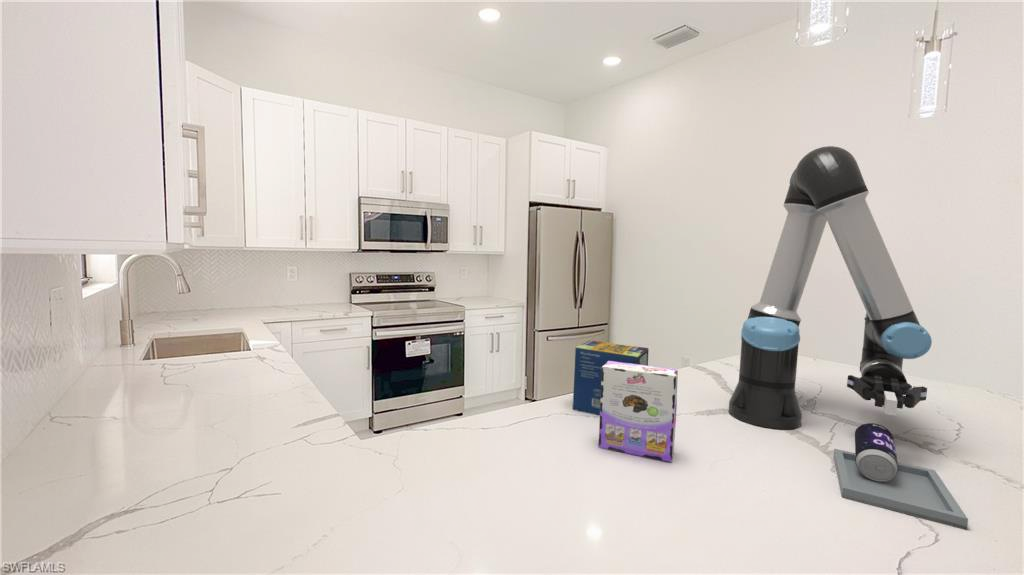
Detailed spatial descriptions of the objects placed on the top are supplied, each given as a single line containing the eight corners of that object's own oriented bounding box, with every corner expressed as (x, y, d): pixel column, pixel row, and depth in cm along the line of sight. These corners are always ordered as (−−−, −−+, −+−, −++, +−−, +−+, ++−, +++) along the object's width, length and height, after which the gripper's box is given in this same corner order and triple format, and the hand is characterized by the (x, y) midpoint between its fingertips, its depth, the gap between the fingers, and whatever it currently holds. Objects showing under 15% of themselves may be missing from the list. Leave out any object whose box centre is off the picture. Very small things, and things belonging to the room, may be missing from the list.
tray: (842, 497, 71) (842, 487, 71) (833, 456, 85) (834, 448, 85) (966, 529, 63) (968, 519, 63) (933, 478, 78) (934, 470, 78)
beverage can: (892, 452, 82) (898, 488, 73) (854, 445, 86) (854, 478, 77) (893, 424, 81) (899, 456, 72) (855, 418, 85) (855, 448, 76)
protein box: (586, 398, 116) (589, 339, 115) (646, 410, 108) (649, 347, 107) (571, 409, 107) (574, 346, 106) (634, 423, 99) (638, 356, 98)
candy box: (674, 451, 86) (679, 368, 84) (671, 464, 80) (677, 375, 79) (604, 436, 91) (607, 358, 90) (597, 447, 86) (601, 365, 85)
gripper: (921, 402, 94) (939, 438, 75) (844, 389, 102) (843, 418, 83) (924, 368, 93) (944, 395, 74) (847, 357, 101) (847, 379, 82)
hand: (891, 407), depth 79 cm, fingers closed
